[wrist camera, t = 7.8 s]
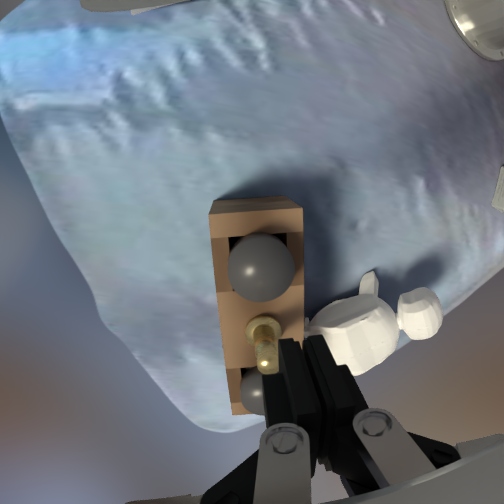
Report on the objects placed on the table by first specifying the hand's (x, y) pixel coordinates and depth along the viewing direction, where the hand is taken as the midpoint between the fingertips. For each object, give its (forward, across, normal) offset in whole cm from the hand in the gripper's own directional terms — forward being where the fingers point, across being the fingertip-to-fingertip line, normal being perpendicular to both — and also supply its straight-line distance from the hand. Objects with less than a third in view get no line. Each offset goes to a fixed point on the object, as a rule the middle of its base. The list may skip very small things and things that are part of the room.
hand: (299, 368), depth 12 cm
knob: (+21, +1, +1) cm, 21 cm away
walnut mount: (+22, +1, +6) cm, 23 cm away
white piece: (+22, -12, +10) cm, 27 cm away
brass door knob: (+14, 0, +6) cm, 15 cm away
